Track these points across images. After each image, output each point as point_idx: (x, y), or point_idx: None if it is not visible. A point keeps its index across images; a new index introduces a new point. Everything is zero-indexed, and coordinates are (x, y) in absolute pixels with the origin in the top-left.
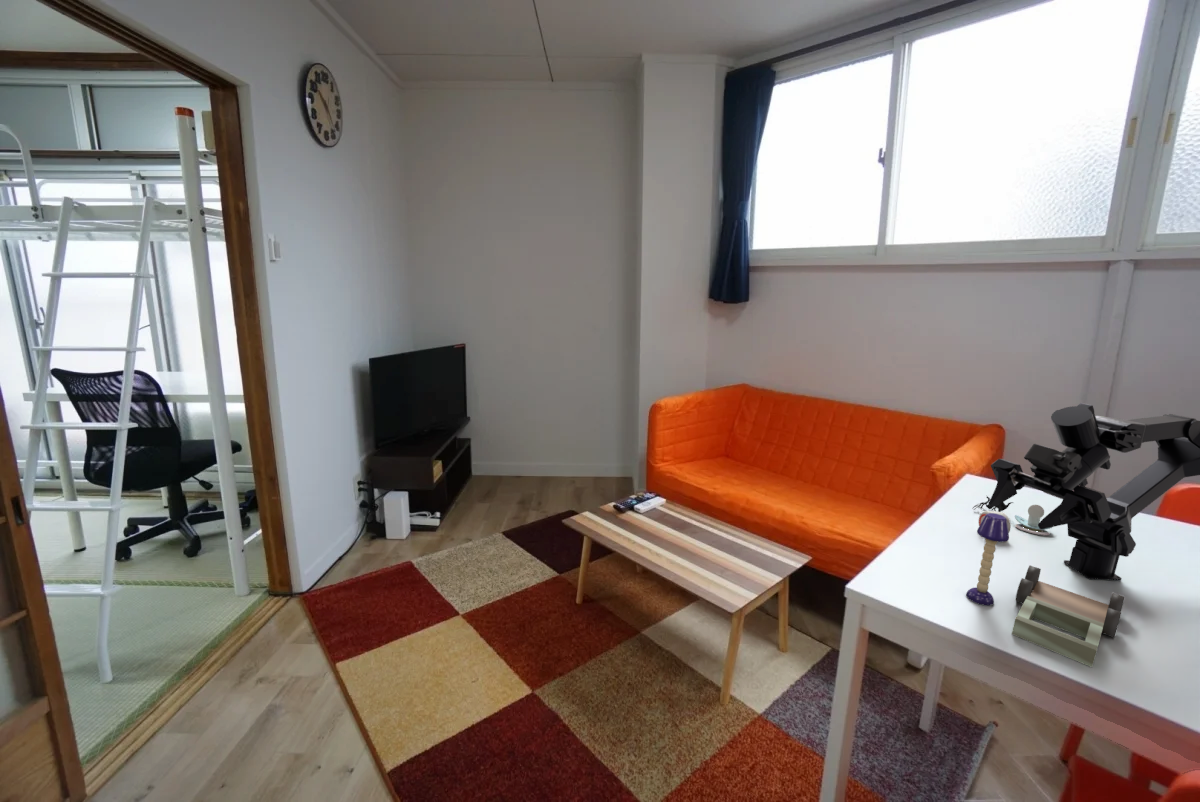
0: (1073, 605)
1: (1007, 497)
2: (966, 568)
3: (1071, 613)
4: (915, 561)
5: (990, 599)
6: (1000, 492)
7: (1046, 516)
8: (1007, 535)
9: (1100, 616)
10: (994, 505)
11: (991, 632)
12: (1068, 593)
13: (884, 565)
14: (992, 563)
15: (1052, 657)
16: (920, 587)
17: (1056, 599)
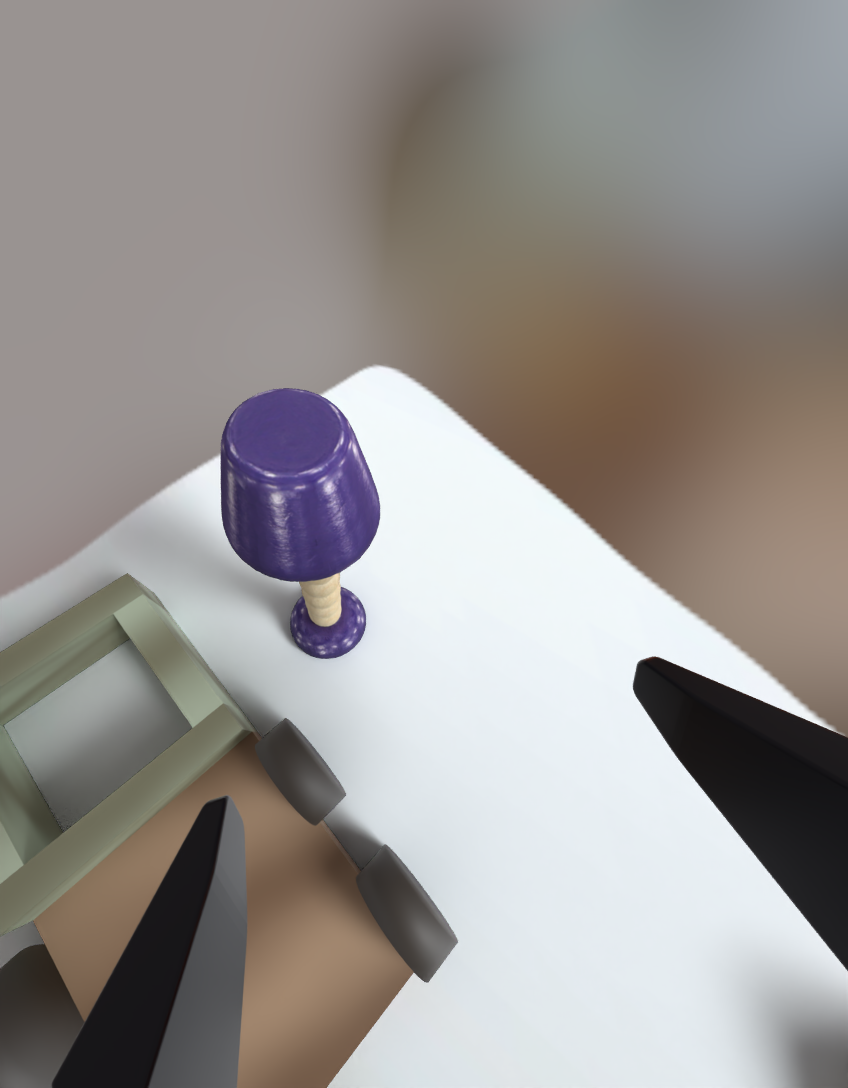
0: None
1: (821, 914)
2: (523, 711)
3: (98, 827)
4: (538, 559)
5: (294, 626)
6: (797, 770)
7: (191, 919)
8: (224, 523)
9: None
10: (653, 711)
11: (173, 544)
12: (314, 1049)
13: (497, 463)
14: (304, 586)
15: None
16: (389, 492)
17: (274, 919)
